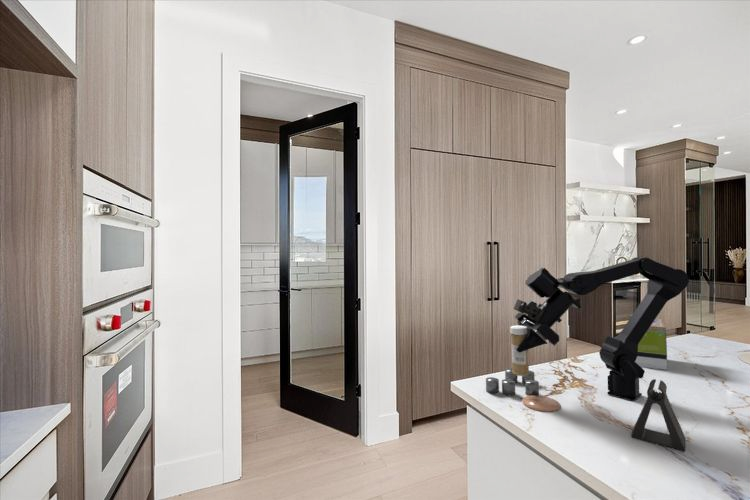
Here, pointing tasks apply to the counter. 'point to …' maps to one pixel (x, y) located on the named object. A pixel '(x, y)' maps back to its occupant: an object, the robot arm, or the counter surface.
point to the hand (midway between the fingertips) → (514, 349)
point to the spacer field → (513, 384)
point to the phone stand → (675, 432)
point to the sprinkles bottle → (521, 358)
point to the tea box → (653, 347)
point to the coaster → (541, 403)
